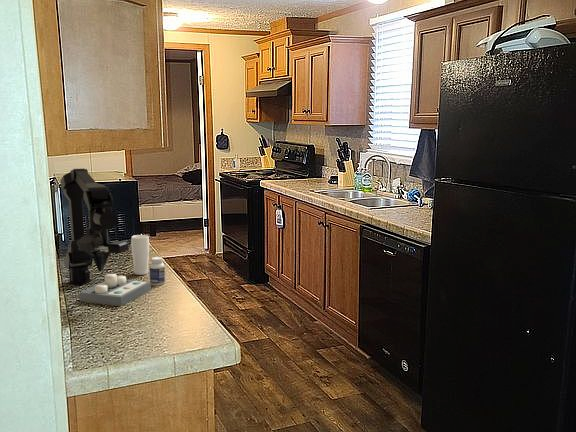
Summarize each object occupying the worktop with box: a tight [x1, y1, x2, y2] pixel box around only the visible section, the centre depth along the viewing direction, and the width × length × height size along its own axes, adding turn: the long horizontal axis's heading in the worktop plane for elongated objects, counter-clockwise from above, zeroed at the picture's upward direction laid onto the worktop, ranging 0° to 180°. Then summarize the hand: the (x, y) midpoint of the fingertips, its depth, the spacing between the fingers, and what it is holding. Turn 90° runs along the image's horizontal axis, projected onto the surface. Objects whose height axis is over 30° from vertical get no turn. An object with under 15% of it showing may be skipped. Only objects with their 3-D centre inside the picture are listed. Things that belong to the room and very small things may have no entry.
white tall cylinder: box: [130, 234, 150, 276], centre depth 212 cm, size 7×7×15 cm
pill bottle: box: [149, 256, 166, 286], centre depth 200 cm, size 5×5×10 cm
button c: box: [117, 275, 127, 285], centre depth 191 cm, size 4×4×4 cm
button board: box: [79, 279, 152, 307], centre depth 186 cm, size 16×18×3 cm
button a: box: [94, 284, 108, 294], centre depth 181 cm, size 4×4×4 cm
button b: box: [104, 273, 118, 288], centre depth 186 cm, size 4×4×4 cm
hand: (100, 270), depth 180 cm, fingers closed
